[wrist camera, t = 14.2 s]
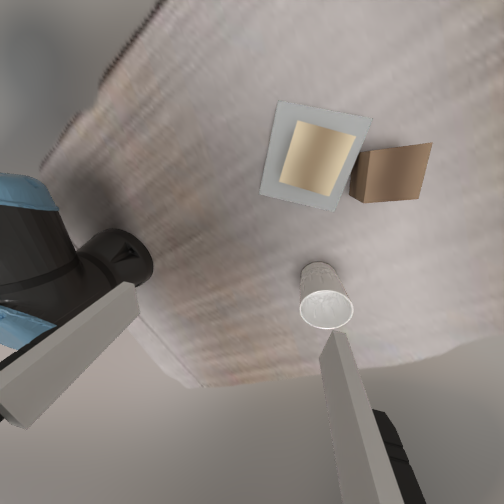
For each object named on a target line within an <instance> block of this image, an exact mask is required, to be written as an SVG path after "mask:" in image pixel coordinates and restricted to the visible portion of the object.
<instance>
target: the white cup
mask: <svg viewBox="0 0 504 504" xmlns="http://www.w3.org/2000/svg"><path fill="white" fill-rule="evenodd" d="M300 314H301V317H302V318H303V319H304V321H305V322H307V323H308V324H309V325H311V326H313V327H316V328H320V329H334V328H338V327H340V326H343V325H344V324H346V323H347V322H348V321H349V320H350V319H351V317H352V315H353V305H352V303H351V301H350V299H349V297H348V295H347V293H346V291H345V289H344V286H343V285H342V283H341V281H340V279H339V277H338V276H337V274H336V272H335V270H334V269H333V268H332V267H331V266H330V265H329V264H326V263H323V262H313V263H311V264H309V265H307V266H306V267H305V268H304V269H303V270H302V273H301V281H300Z"/></svg>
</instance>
